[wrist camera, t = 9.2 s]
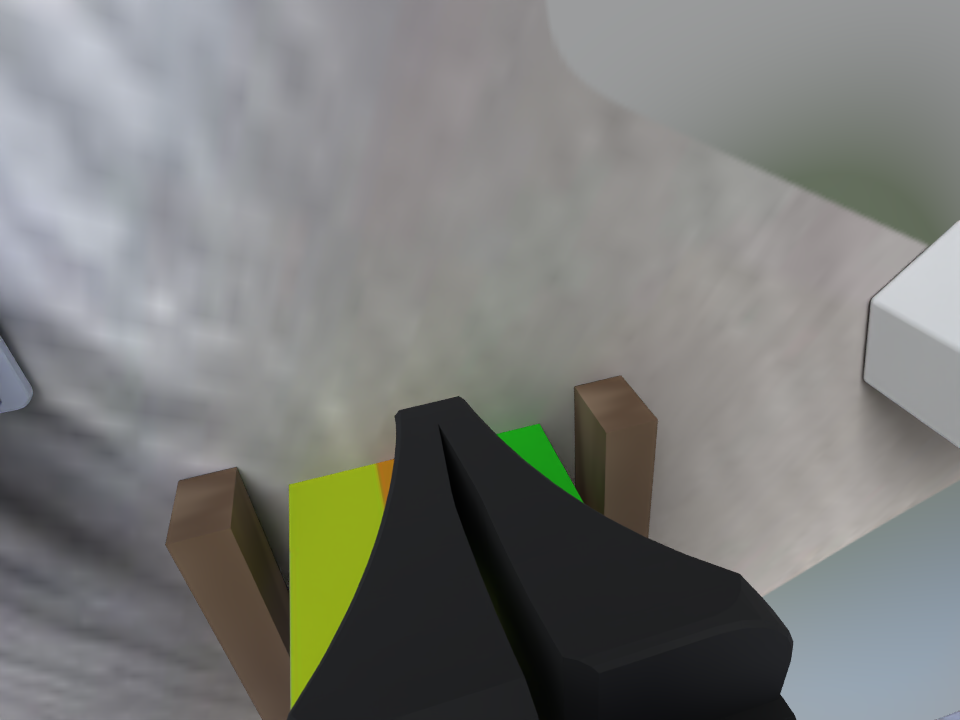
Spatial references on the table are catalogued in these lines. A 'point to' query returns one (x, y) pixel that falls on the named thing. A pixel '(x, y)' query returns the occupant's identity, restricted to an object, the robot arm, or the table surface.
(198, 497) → the walnut frame
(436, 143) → the table surface
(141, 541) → the table surface
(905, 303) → the jar
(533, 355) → the table surface
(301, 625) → the puzzle toy
